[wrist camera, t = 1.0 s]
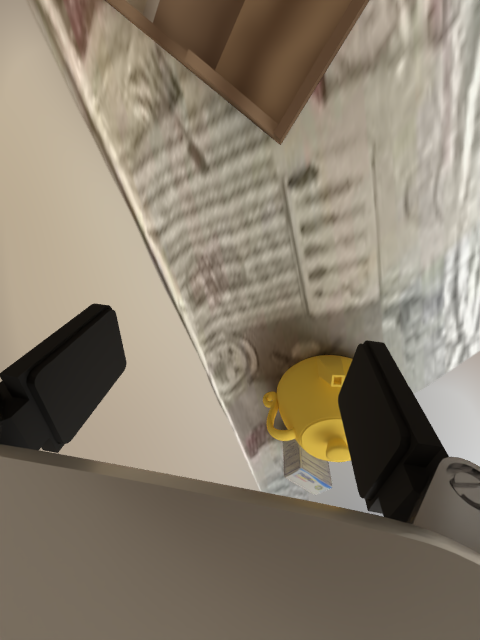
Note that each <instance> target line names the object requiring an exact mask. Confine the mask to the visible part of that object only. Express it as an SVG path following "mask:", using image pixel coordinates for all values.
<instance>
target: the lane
mask: <svg viewBox="0 0 480 640" xmlns="http://www.w3.org/2000/svg"><path fill="white" fill-rule="evenodd" d="M105 1H106V2H108V3H109V4H110V5H111V6H112V7H114V8H115V9H116V10H117V11H118V12H120V13H121V14H122V15H123V16H125V17H126V18H127V19H128V20H129V21H131V22H132V23H133V24H134V25H135V26H137V27H138V28H139V29H140V30H142V31H143V32H144V33H145V34H146V35H148V36H149V37H150V38H151V39H152V40H154V41H155V42H156V43H157V44H159V45H160V46H161V47H162V48H163V49H165V50H166V51H167V52H168V53H169V54H171V55H172V56H173V57H174V58H176V59H177V60H178V61H179V62H180V63H182V64H183V65H184V66H185V67H186V68H188V69H189V70H190V71H191V72H193V73H194V74H195V75H196V76H197V77H199V78H200V79H201V80H202V81H203V82H205V83H206V84H207V85H208V86H210V87H211V88H212V89H213V90H214V91H216V92H217V93H218V94H219V95H220V96H222V97H223V98H224V99H225V100H226V101H228V102H229V103H230V104H231V105H233V106H234V107H235V108H236V109H237V110H239V111H240V112H241V113H242V114H243V115H245V116H246V117H247V118H248V119H250V120H251V121H252V122H253V123H254V124H256V125H257V126H258V127H259V128H260V129H262V130H263V131H264V132H265V133H267V134H268V135H269V136H270V137H271V138H273V139H274V140H275V141H276V142H277V143H279V144H280V145H281V143H282V142H283V140H284V138H285V137H286V135H287V134H288V132H289V130H290V129H291V127H292V125H293V124H294V122H295V121H296V119H297V117H298V116H299V114H300V112H301V111H302V109H303V108H304V106H305V104H306V103H307V101H308V99H309V98H310V96H311V95H312V93H313V91H314V90H315V88H316V86H317V85H318V83H319V82H320V80H321V78H322V77H323V75H324V73H325V72H326V70H327V69H328V67H329V65H330V64H331V62H332V60H333V59H334V57H335V56H336V54H337V52H338V51H339V49H340V47H341V46H342V44H343V43H344V41H345V39H346V38H347V36H348V34H349V33H350V31H351V30H352V28H353V26H354V25H355V23H356V21H357V20H358V18H359V17H360V15H361V13H362V12H363V10H364V8H365V7H366V5H367V4H368V2H369V0H105Z"/></svg>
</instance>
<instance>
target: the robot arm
mask: <svg viewBox="0 0 480 640" xmlns="http://www.w3.org/2000/svg"><path fill="white" fill-rule="evenodd" d="M125 367H126V358H125V354H124V349H123V344H122V339H121V335H120V331H119V326H118V321H117V316H116V313H115V311H114V310H112V308H111V307H110V306H109V305H101V304H92V305H90V306H89V307H88V308H86V309H85V310H84V311H82V312H81V313H80V314H78V315H77V316H76V317H74V318H73V319H72V320H70V321H69V322H68V323H67V324H65V325H64V326H63V327H61V328H60V329H58V330H57V331H56V332H55V333H53V334H52V335H51V336H49V337H48V338H47V339H45V340H44V341H43V342H41V343H40V344H38V345H37V346H36V347H34V348H33V349H32V350H31V351H29V352H28V353H26V354H25V355H24V356H23V357H21V358H20V359H19V360H17V361H16V362H14V363H13V364H12V365H10V366H9V367H8V368H7V369H5V370H4V371H3V372H1V373H0V377H1V379H2V382H0V640H480V467H479V466H478V465H476V464H473V463H472V462H470V461H468V460H465V459H462V458H458V457H449V456H448V454H447V453H446V451H445V449H444V447H443V446H442V444H441V442H440V440H439V439H438V437H437V435H436V433H435V431H434V430H433V428H432V426H431V424H430V423H429V421H428V419H427V417H426V416H425V414H424V412H423V410H422V409H421V407H420V405H419V403H418V401H417V399H416V398H415V396H414V394H413V392H412V391H411V389H410V387H409V386H408V384H407V383H406V381H405V379H404V377H403V375H402V374H401V372H400V370H399V368H398V367H397V365H396V363H395V361H394V359H393V358H392V356H391V354H390V352H389V351H388V349H387V347H386V345H385V344H384V343H381V342H374V341H365V342H364V344H359V345H358V347H357V350H356V352H355V355H354V357H353V360H352V362H351V365H350V367H349V370H348V372H347V375H346V377H345V380H344V382H343V385H342V387H341V390H340V392H339V395H338V405H339V410H340V414H341V418H342V423H343V427H344V431H345V436H346V440H347V444H348V449H349V453H350V457H351V461H352V466H353V470H354V475H355V479H356V483H357V487H358V492H359V495H360V497H361V498H364V499H365V501H366V505H367V509H368V511H372V512H377V513H382V514H383V515H384V517H382V516H378V515H373V514H369V513H364V512H359V511H355V510H350V509H345V508H341V507H336V506H330V505H326V504H321V503H317V502H311V501H306V500H301V499H296V498H291V497H286V496H281V495H275V494H270V493H265V492H260V491H255V490H249V489H244V488H239V487H233V486H228V485H223V484H218V483H213V482H207V481H202V480H197V479H191V478H186V477H180V476H175V475H170V474H164V473H159V472H154V471H149V470H143V469H138V468H133V467H127V466H121V465H116V464H111V463H105V462H100V461H94V460H89V459H83V458H78V457H72V456H67V455H61V454H56V453H58V452H59V451H60V449H61V448H62V447H63V446H64V444H66V443H69V442H70V441H71V440H72V439H73V437H74V436H75V435H76V434H77V432H78V431H79V429H80V428H81V427H82V425H83V424H84V423H85V422H86V420H87V419H88V418H89V416H90V415H91V414H92V412H93V411H94V410H95V408H96V407H97V405H98V404H99V403H100V402H101V400H102V399H103V398H104V396H105V395H106V394H107V392H108V391H109V390H110V389H111V387H112V386H113V384H114V383H115V382H116V381H117V379H118V378H119V377H120V375H121V374H122V373H123V371H124V370H125ZM40 448H42V449H43V450H45V451H51V452H56V453H50V452H44V451H39V449H40Z"/></svg>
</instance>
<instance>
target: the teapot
mask: <svg viewBox="0 0 480 640" xmlns="http://www.w3.org/2000/svg"><path fill="white" fill-rule="evenodd" d="M352 360H353V359H351V358H347V357H343V356H336V355H321V356H315V357H311V358H307V359H305V360H302V361H300V362H298V363H297V364H295V365H293V366H292V367H291V368H289V369H288V370H287V371H286V372H285V374H284V375H283V376H282V378H281V380H280V381H279V384H278V387H277V393H276V392H268V393H266V394H265V395H264V397H263V403H264V405H265V406H266V407H268V408H270V407H271V408H270V411H269V413H268V417H267V429H268V432H269V433H270V435H271V436H272V437H274V438H275V439H277V440H281V441H289V440H293V439H295V440H296V441H297V442H298V444H299V445H300V446H301V447H302V448H303V449H304V450H305V451H306V452H307V453H309V454H310V455H312V456H314V457H316V458H318V459H321V460H325V461H332V462H345V461H350V460H351V457H350V453H349V449H348V444H347V440H346V436H345V431H344V427H343V423H342V418H341V414H340V410H339V405H338V395H339V392H340V390H341V387H342V385H343V382H344V380H345V377H346V375H347V372H348V370H349V367H350V365H351V362H352ZM271 400H273V401H271ZM278 408H279V412H280V415H281V417H282V420H283V422H284V424H285V426H286V427H287V429H288V430H278V429H275V428H274V426H273V425H274V419H275V416H276V414H277V411H278Z"/></svg>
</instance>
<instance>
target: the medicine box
mask: <svg viewBox="0 0 480 640" xmlns="http://www.w3.org/2000/svg"><path fill="white" fill-rule="evenodd" d="M283 457H284V477H285V478H287V479H288V480H290V481H292V482H293V483H295V484H297V485H298V486H300V487H302V488H303V489H305V490H307V491H309V492H310V493H312V494H314V495H316V494H319V493H322V492H324V491H326V490H328V489H330V488H332V481H331V475H330V469H329V463H328V461H325V460H321V459H318V458H316V457H314V456H312V455H310V454H309V453H307V452H306V451H305V450H304V449H303V448H302V447H301V446H300V445H299V444H298V442H297V441H296V440H295V439H293V440H289V441H283Z"/></svg>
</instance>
